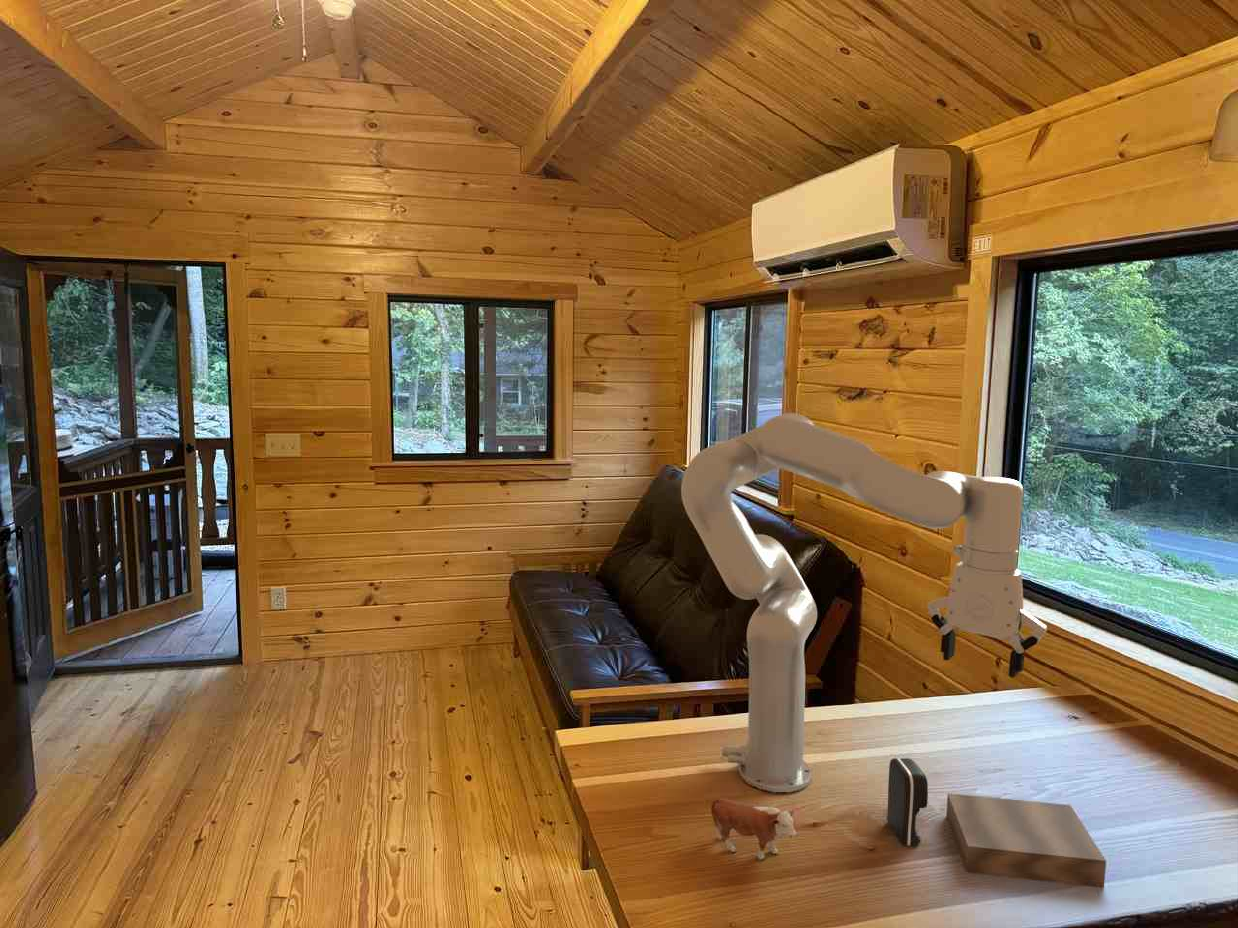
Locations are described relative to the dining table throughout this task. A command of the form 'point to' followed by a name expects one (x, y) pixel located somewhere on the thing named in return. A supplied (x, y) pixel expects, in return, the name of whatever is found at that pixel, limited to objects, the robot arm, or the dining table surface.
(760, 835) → the bull figurine
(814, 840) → the dining table surface
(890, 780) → the battery charger
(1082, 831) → the walnut base
